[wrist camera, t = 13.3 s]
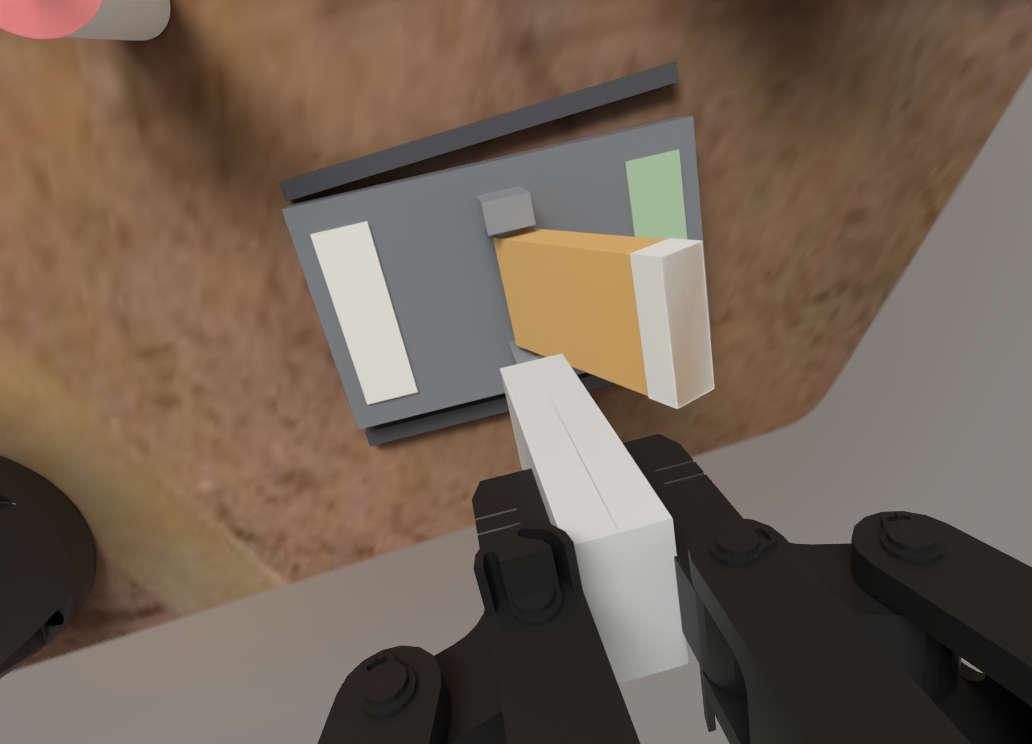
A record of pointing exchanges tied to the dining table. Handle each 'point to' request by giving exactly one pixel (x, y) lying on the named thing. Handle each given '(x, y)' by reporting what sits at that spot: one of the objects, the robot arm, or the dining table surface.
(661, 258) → the breaker lever
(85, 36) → the cup
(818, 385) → the dining table surface
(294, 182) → the dark grey bar
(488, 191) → the panel
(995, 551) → the robot arm
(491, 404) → the dark grey edge strip
